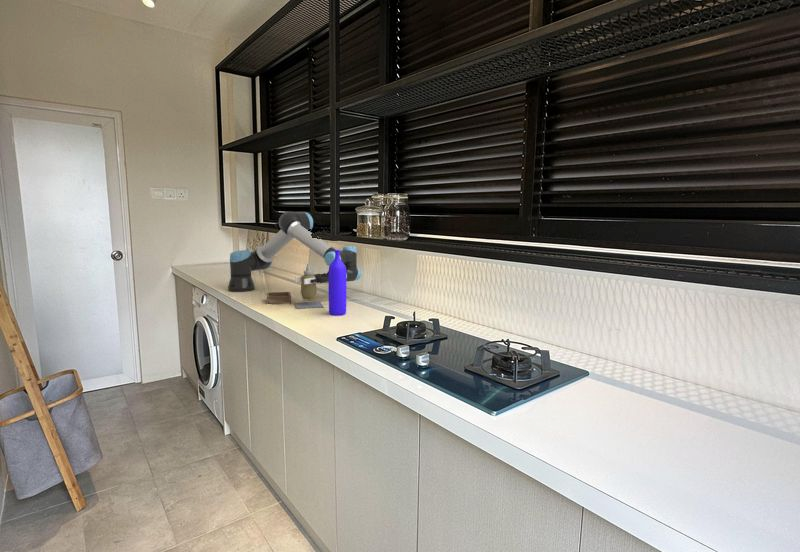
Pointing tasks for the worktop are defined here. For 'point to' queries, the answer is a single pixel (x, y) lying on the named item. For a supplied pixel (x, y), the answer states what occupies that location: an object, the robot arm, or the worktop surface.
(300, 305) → the mat
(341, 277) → the bottle
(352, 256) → the robot arm
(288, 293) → the holder
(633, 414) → the worktop surface
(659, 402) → the worktop surface
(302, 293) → the squeeze bottle
